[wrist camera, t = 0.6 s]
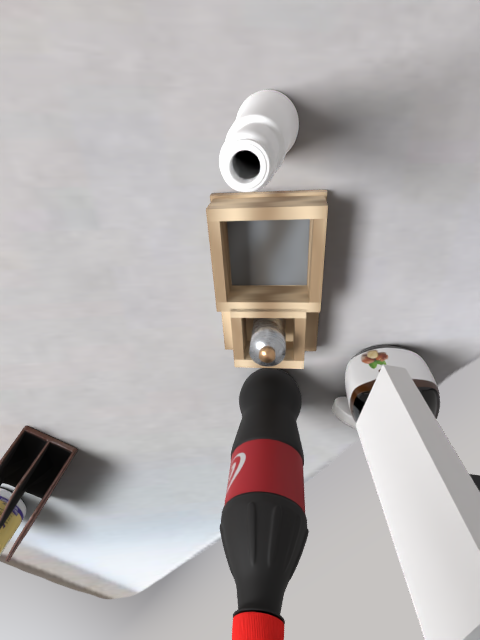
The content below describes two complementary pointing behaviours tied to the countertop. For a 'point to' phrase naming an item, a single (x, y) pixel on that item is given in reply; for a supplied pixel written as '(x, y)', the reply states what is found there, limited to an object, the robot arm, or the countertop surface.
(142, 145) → the countertop surface
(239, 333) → the wooden frame
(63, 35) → the countertop surface
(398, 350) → the spread jar
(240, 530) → the cola bottle
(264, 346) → the grey cell
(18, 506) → the supplement tub
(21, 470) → the letter holder
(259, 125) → the cosmetic bottle
